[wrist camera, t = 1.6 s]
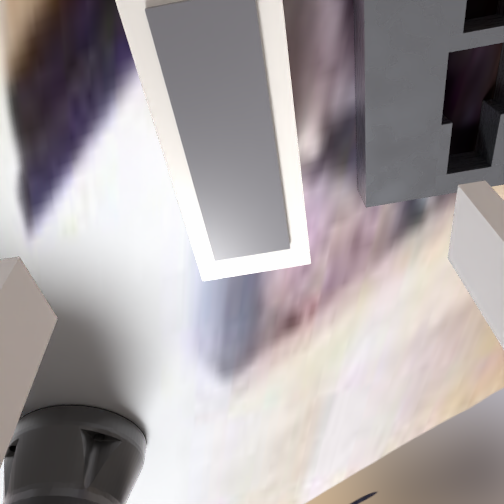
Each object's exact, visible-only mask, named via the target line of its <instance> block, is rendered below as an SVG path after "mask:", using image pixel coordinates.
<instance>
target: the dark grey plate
mask: <svg viewBox="0 0 504 504" xmlns="http://www.w3.org/2000/svg"><path fill="white" fill-rule="evenodd" d="M466 3H467V0H354V47H355V94H356V140H357V187H358V192H359V194H360V196H361V198H362V200H363V202H364V204H365V206H366V207H371V206H377V205H383V204H389V203H395V202H401V201H407V200H413V199H419V198H425V197H431V196H437V195H443V194H449V193H455V192H457V189H458V185H460V184H467V183H473V182H479V181H486V182H487V183H488V184H489V185H490V186H497V185H503V184H504V0H498V5H497V11H496V14H493V15H488V16H482V17H477V18H472V19H466V20H465V12H466ZM497 43H503V44H502V50H501V56H500V62H499V68H498V74H497V80H496V86H495V92H494V97H493V99H488V100H483V102H482V108H481V115H480V121H479V128H478V134H477V141H476V147H475V151H469V152H464V153H458V154H452V155H449V149H450V140H451V132H452V122H451V121H450V120H449V119H448V118H447V117H446V116H445V115H444V114H443V103H444V93H445V84H446V74H447V64H448V54H449V52H454V51H459V50H465V49H470V48H475V47H481V46H486V45H492V44H497Z"/></svg>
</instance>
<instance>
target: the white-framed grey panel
mask: <svg viewBox="0 0 504 504" xmlns="http://www.w3.org/2000/svg"><path fill="white" fill-rule="evenodd" d="M115 1H116V4H117V7H118V11H119V14H120V17H121V20H122V24H123V27H124V30H125V33H126V36H127V40H128V43H129V46H130V49H131V52H132V56H133V59H134V62H135V65H136V68H137V72H138V75H139V78H140V81H141V85H142V88H143V91H144V94H145V97H146V101H147V104H148V107H149V110H150V113H151V117H152V120H153V123H154V126H155V129H156V133H157V136H158V139H159V142H160V145H161V149H162V152H163V155H164V158H165V162H166V165H167V168H168V171H169V174H170V178H171V181H172V184H173V187H174V190H175V194H176V197H177V200H178V203H179V206H180V210H181V213H182V216H183V219H184V223H185V226H186V229H187V232H188V235H189V239H190V242H191V245H192V248H193V251H194V255H195V258H196V261H197V264H198V267H199V271H200V274H201V277H202V280H203V281H208V280H214V279H220V278H226V277H233V276H239V275H245V274H251V273H257V272H264V271H270V270H276V269H282V268H289V267H295V266H301V265H307V264H311V260H310V251H309V241H308V232H307V223H306V214H305V204H304V195H303V186H302V177H301V167H300V158H299V149H298V139H297V130H296V121H295V112H294V102H293V93H292V84H291V75H290V65H289V56H288V47H287V38H286V28H285V19H284V10H283V0H115Z"/></svg>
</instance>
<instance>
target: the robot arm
mask: <svg viewBox="0 0 504 504" xmlns="http://www.w3.org/2000/svg"><path fill="white" fill-rule="evenodd" d="M448 259H449V261H450V263H451V264H452V266H453V268H454V269H455V271H456V272H457V274H458V276H459V277H460V279H461V281H462V282H463V284H464V286H465V287H466V289H467V290H468V292H469V294H470V295H471V297H472V299H473V300H474V302H475V303H476V305H477V307H478V308H479V310H480V312H481V313H482V315H483V317H484V318H485V320H486V321H487V323H488V325H489V326H490V328H491V330H492V331H493V333H494V334H495V336H496V338H497V339H498V341H499V343H500V344H501V346H502V348H503V349H504V200H503V199H502V198H501V197H500V196H499V195H498V194H497V193H496V192H495V191H494V189H493V188H492V187H491V186H490V185H489V184H488V183H487V182H486V181H479V182H473V183H467V184H460V185H458V189H457V196H456V203H455V210H454V218H453V225H452V232H451V239H450V246H449V253H448ZM57 319H58V318H57V316H56V314H55V313H54V311H53V310H52V308H51V307H50V305H49V303H48V302H47V300H46V299H45V297H44V295H43V294H42V292H41V291H40V289H39V287H38V286H37V284H36V283H35V281H34V279H33V278H32V276H31V275H30V273H29V271H28V270H27V268H26V267H25V265H24V263H23V262H22V260H21V259H20V257H14V258H7V259H1V260H0V467H1V465H2V462H3V460H4V490H3V504H126V502H127V500H128V498H129V495H130V493H131V491H132V489H133V487H134V485H135V483H136V481H137V478H138V476H139V474H140V472H141V470H142V467H143V464H144V459H145V451H146V439H145V437H144V435H143V433H142V431H141V430H140V429H139V428H138V427H137V426H136V425H135V424H133V423H132V422H131V421H129V420H127V419H126V418H124V417H122V416H120V415H117V414H115V413H112V412H109V411H106V410H102V409H98V408H93V407H86V406H55V407H49V408H44V409H40V410H37V411H34V412H32V413H29V414H27V415H26V416H24V417H22V418H21V419H20V420H19V418H20V415H21V413H22V410H23V408H24V405H25V402H26V400H27V397H28V395H29V392H30V389H31V387H32V384H33V382H34V379H35V376H36V374H37V371H38V369H39V366H40V363H41V361H42V358H43V356H44V353H45V350H46V348H47V345H48V343H49V340H50V337H51V335H52V332H53V330H54V327H55V324H56V322H57ZM4 457H5V458H4Z"/></svg>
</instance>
